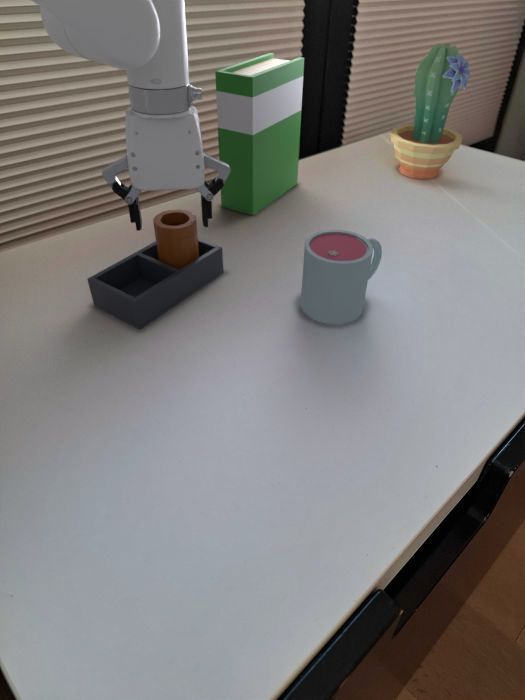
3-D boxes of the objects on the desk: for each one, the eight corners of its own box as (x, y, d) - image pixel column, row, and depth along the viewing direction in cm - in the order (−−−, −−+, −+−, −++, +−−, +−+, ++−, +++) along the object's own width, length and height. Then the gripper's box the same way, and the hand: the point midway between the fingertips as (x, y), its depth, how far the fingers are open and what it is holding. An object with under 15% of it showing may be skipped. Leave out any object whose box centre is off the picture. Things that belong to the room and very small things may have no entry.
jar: (152, 273, 80) (144, 220, 74) (179, 257, 84) (173, 205, 78) (181, 286, 77) (175, 233, 71) (208, 269, 81) (204, 216, 75)
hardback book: (267, 176, 112) (269, 52, 96) (297, 184, 109) (304, 57, 93) (221, 206, 100) (215, 71, 85) (252, 215, 97) (252, 77, 82)
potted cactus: (389, 184, 109) (413, 51, 93) (379, 157, 121) (399, 36, 105) (461, 185, 109) (498, 53, 93) (444, 159, 121) (474, 37, 104)
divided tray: (94, 306, 75) (87, 278, 72) (179, 255, 86) (176, 229, 83) (139, 330, 70) (134, 302, 67) (223, 273, 82) (222, 246, 79)
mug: (329, 332, 70) (337, 271, 64) (288, 301, 76) (291, 241, 70) (397, 299, 77) (410, 240, 70) (354, 272, 82) (362, 215, 76)
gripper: (225, 90, 68) (228, 211, 79) (92, 92, 65) (113, 216, 76) (232, 105, 62) (233, 233, 73) (86, 108, 60) (110, 240, 71)
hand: (172, 224), depth 75 cm, fingers open, 9 cm apart
